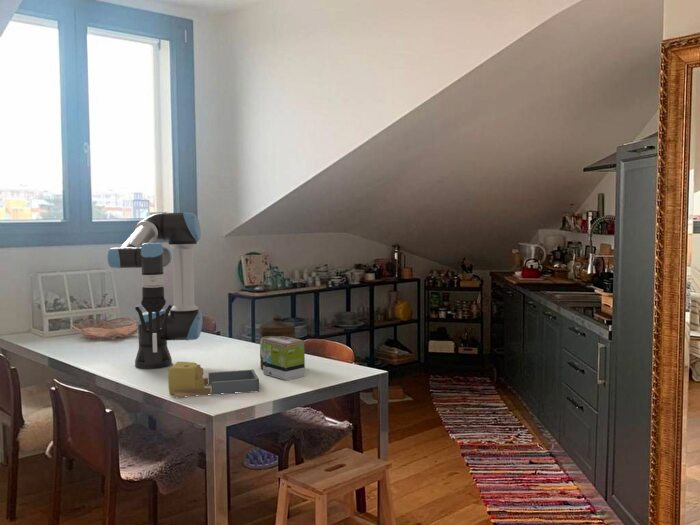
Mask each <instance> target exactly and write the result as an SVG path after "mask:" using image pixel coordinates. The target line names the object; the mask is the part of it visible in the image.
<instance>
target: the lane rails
mask: <svg viewBox="0 0 700 525" xmlns="http://www.w3.org/2000/svg"><path fill="white" fill-rule="evenodd" d="M203 379H204V382H205V385H204V386H208V385H209V377H203ZM207 384H208V385H207ZM208 394H211V387H204V388H199V389H186V390H175V395H174V398H175V397H181V398H186V397H185V396H194V397H197V396H196V395H207V396H209V395H208ZM211 395H212V394H211Z"/></svg>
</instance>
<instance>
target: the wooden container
mask: <svg viewBox="0 0 700 525" xmlns="http://www.w3.org/2000/svg"><path fill="white" fill-rule="evenodd" d="M272 320H273V321H272V322H264V323H261V324H260V325H259V333H260V334H259V335H260V336H259V338H260V339H259V340H260V341H259V343H260V344H259V357H260V364H259V365H260V369H261V370H262V371H263V339H266V338H271V337H276V336H286V337H290V338H295V339H296V325H295V323H294V322H290V321H282V316H281V315H279V314H276V315H275V314H274V316H273V317H272Z"/></svg>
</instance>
